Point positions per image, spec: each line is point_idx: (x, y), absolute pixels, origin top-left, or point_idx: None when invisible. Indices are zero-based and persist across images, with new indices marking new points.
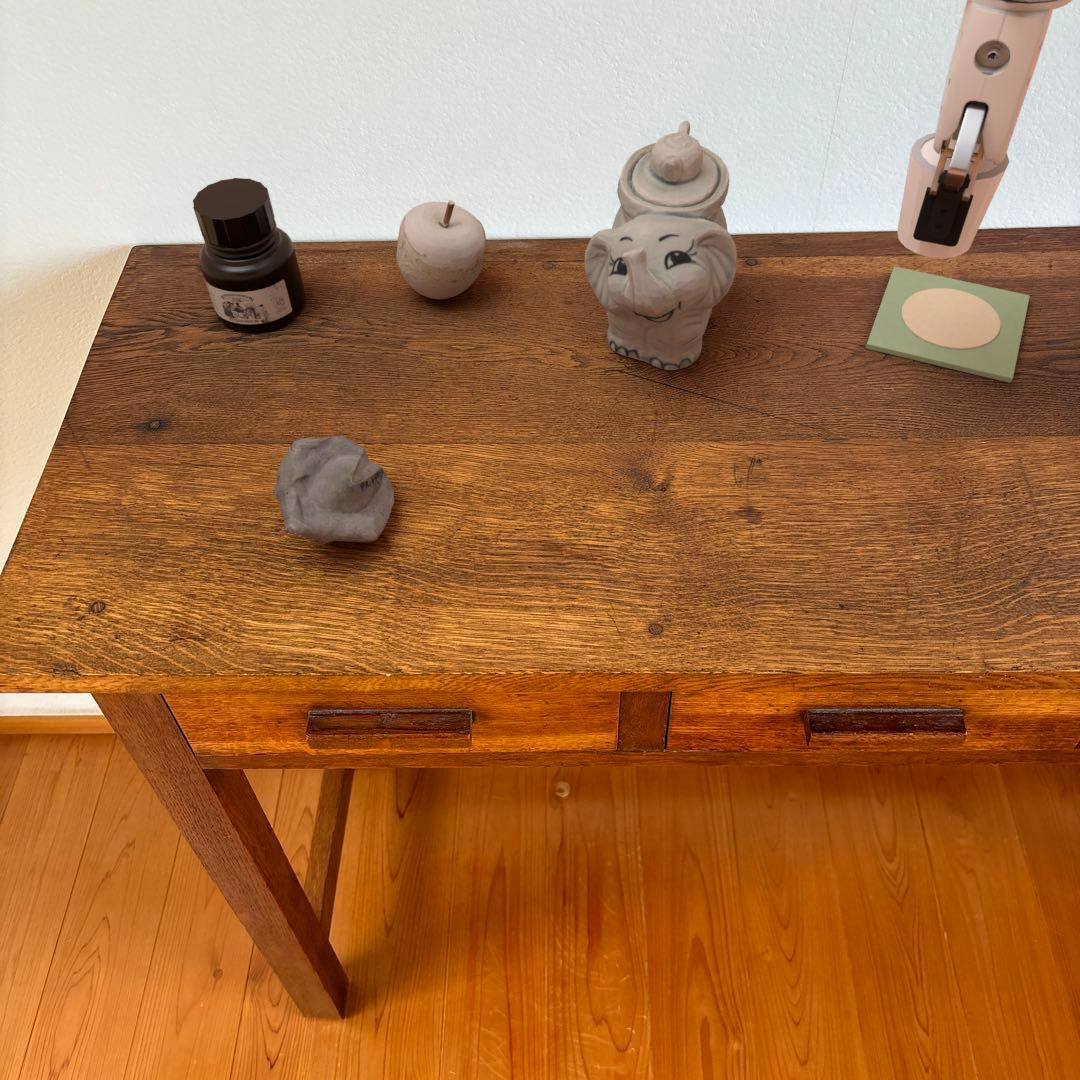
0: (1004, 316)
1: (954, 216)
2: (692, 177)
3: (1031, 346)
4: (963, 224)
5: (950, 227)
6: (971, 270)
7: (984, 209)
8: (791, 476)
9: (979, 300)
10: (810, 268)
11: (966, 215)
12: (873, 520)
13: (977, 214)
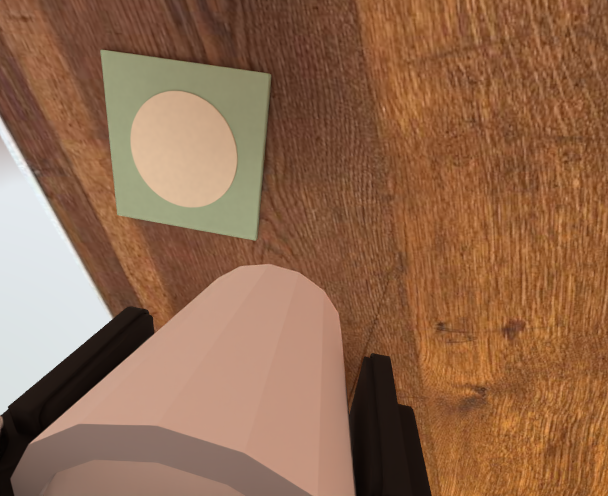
0: (155, 84)
1: (424, 469)
2: None
3: (193, 46)
4: (395, 404)
5: (416, 433)
6: (80, 125)
7: (295, 344)
8: (459, 298)
9: (139, 118)
10: (151, 289)
11: (402, 433)
12: (519, 226)
13: (321, 358)
